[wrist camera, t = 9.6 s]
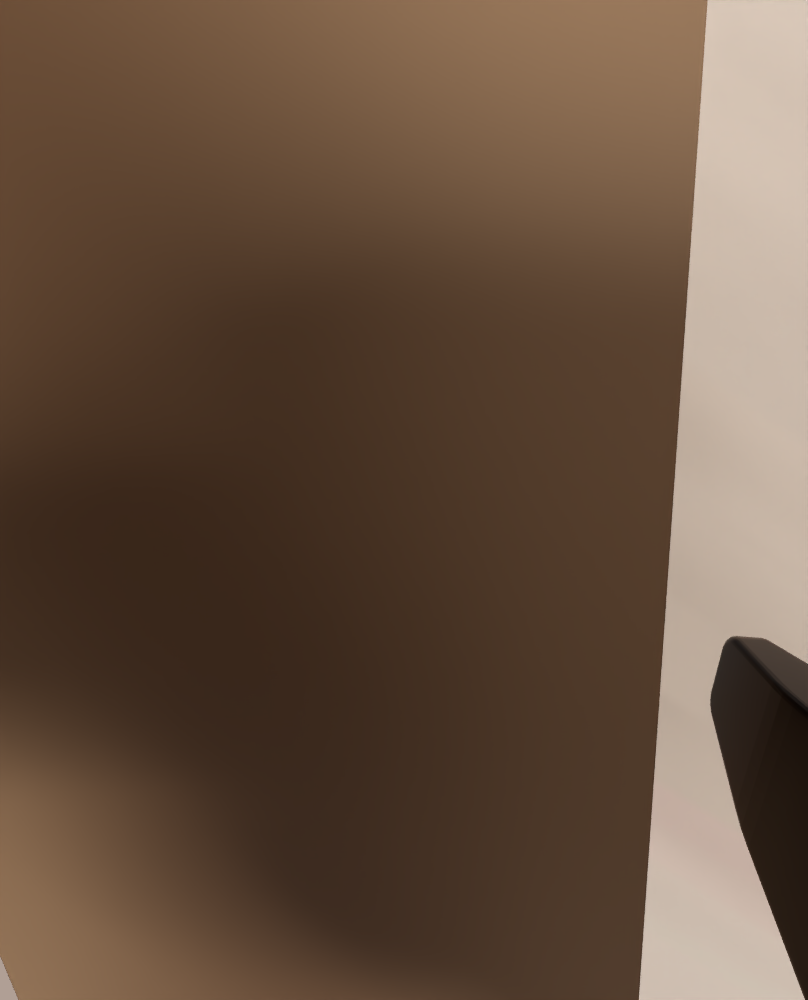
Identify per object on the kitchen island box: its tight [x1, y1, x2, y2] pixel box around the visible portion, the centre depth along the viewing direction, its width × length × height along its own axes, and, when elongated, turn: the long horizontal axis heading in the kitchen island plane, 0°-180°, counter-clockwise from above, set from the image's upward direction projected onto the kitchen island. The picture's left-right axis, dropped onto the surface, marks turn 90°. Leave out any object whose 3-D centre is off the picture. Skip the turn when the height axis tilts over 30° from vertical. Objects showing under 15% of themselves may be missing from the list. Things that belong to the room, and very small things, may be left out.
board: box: [0, 0, 707, 1000], centre depth 9 cm, size 6×14×6 cm, turn 4°
